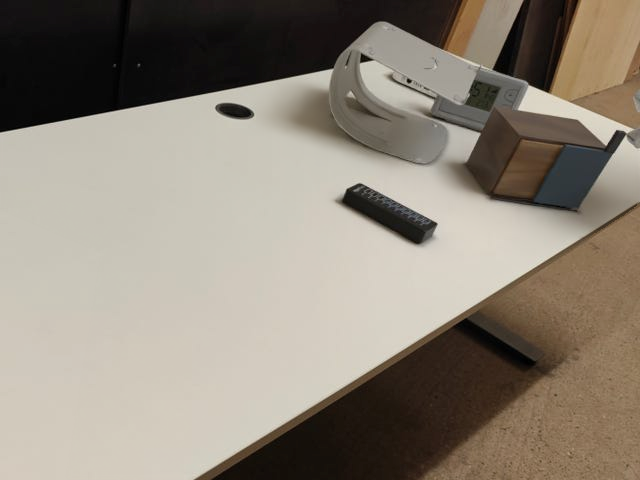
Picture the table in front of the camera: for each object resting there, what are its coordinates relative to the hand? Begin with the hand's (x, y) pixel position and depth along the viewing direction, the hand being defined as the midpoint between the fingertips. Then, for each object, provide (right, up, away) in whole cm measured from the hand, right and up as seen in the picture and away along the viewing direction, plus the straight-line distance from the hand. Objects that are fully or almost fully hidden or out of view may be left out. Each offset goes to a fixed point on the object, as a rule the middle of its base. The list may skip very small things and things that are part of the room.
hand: (631, 141), depth 110 cm
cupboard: (-12, -4, +13) cm, 18 cm away
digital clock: (-12, +14, +32) cm, 37 cm away
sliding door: (-8, -9, +7) cm, 14 cm away
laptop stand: (-32, +10, +24) cm, 41 cm away
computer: (-9, +28, +48) cm, 57 cm away
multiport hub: (-42, -14, -5) cm, 44 cm away
